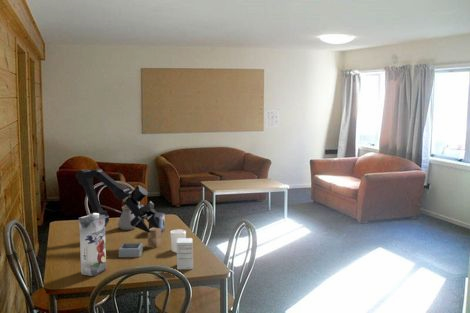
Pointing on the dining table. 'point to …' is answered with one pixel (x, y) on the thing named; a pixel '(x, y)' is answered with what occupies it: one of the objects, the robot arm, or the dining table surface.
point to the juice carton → (92, 244)
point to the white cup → (175, 235)
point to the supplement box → (184, 253)
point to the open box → (130, 249)
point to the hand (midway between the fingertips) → (153, 229)
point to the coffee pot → (124, 218)
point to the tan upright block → (154, 237)
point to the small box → (159, 221)
